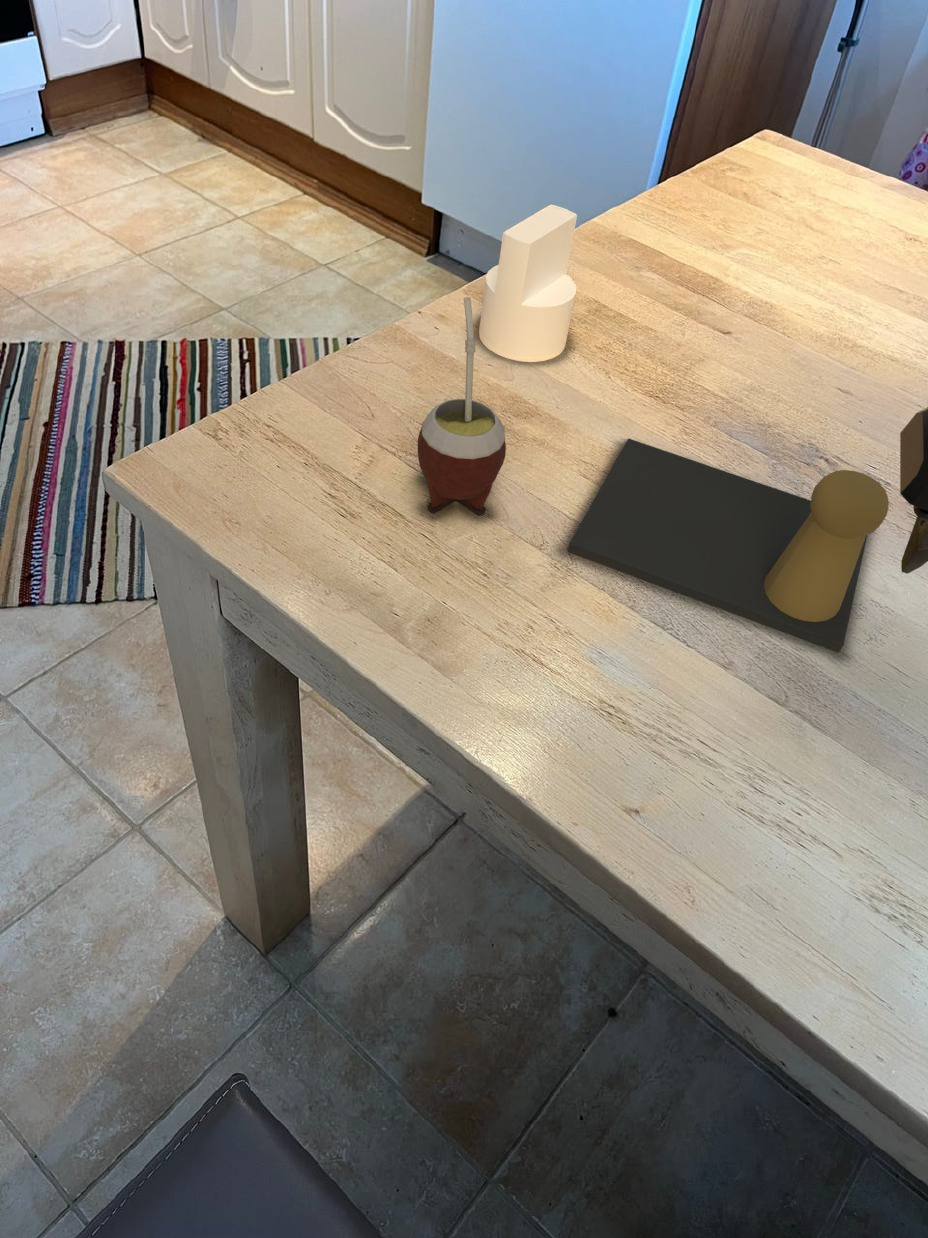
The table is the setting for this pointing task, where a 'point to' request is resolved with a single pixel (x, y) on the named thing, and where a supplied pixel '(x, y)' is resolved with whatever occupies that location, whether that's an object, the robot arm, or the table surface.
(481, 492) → the mate gourd
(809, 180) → the table surface
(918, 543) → the robot arm
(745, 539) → the mat
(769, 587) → the mustard peg figure
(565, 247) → the base with upright slab
